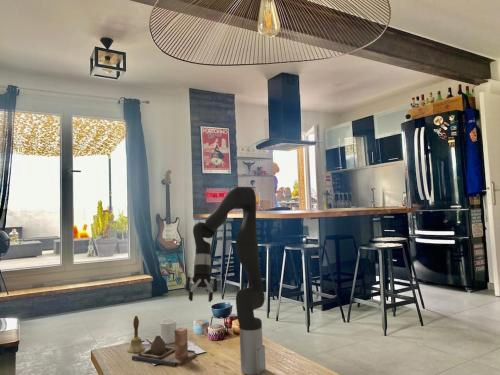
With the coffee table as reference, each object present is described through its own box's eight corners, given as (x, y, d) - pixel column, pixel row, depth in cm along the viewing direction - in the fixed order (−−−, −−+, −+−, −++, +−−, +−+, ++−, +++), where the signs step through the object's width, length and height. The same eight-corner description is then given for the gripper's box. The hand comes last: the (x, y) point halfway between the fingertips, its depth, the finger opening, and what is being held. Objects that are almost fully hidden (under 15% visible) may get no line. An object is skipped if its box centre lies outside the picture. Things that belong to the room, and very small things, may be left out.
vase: (162, 359, 170) (161, 339, 171) (148, 358, 172) (147, 338, 172) (168, 353, 177) (168, 334, 178) (154, 353, 179) (154, 334, 179)
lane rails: (194, 354, 175) (194, 350, 175) (175, 366, 161) (174, 362, 161) (153, 348, 185) (153, 345, 185) (131, 359, 172) (131, 356, 172)
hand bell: (133, 346, 189) (132, 313, 190) (148, 347, 187) (147, 314, 188) (123, 352, 181) (123, 318, 182) (139, 353, 179) (138, 319, 180)
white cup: (158, 343, 192) (157, 323, 192) (165, 338, 199) (165, 319, 200) (171, 344, 189) (171, 324, 190) (179, 339, 197) (178, 319, 198)
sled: (196, 355, 173) (195, 326, 174) (181, 365, 162) (180, 334, 163) (156, 349, 183) (156, 322, 183) (139, 358, 172) (138, 329, 173)
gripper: (189, 262, 169) (186, 300, 163) (219, 264, 174) (218, 301, 168) (185, 265, 176) (182, 301, 170) (214, 267, 180) (213, 302, 175)
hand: (200, 301), depth 169 cm, fingers open, 8 cm apart
